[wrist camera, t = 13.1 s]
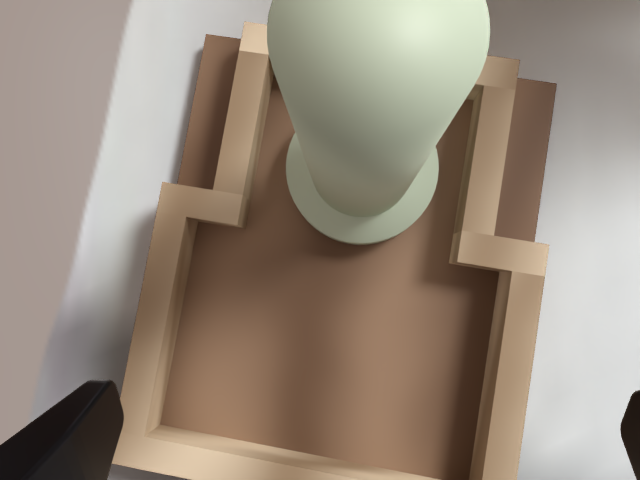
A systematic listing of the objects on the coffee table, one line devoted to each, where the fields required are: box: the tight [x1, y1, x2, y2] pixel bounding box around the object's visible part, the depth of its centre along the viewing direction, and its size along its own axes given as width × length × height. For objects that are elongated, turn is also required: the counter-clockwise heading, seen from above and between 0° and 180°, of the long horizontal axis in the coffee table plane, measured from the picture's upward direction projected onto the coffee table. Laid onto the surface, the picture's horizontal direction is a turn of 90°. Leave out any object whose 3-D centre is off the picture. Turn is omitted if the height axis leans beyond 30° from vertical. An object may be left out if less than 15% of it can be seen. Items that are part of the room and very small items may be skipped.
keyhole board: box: [112, 22, 557, 480], centre depth 20 cm, size 15×18×2 cm
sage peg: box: [267, 0, 490, 245], centre depth 15 cm, size 6×6×12 cm
